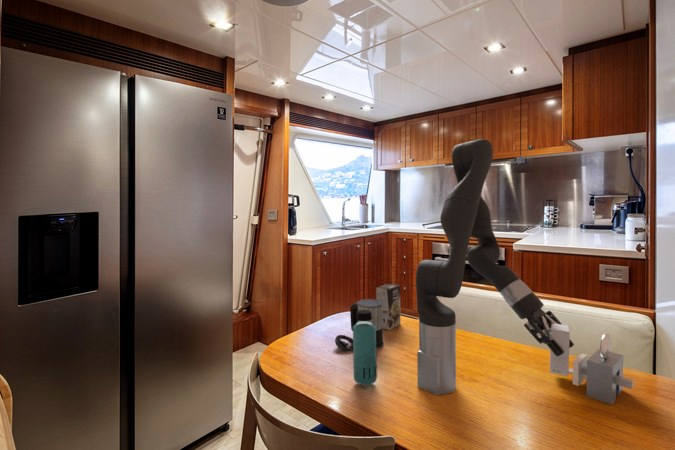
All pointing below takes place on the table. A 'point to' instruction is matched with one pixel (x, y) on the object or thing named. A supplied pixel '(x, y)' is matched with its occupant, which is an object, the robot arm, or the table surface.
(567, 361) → the skincare box
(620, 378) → the gauge plunger
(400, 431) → the table surface
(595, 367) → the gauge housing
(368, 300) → the milk frother
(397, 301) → the coffee box
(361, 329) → the beverage bottle
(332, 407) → the table surface
